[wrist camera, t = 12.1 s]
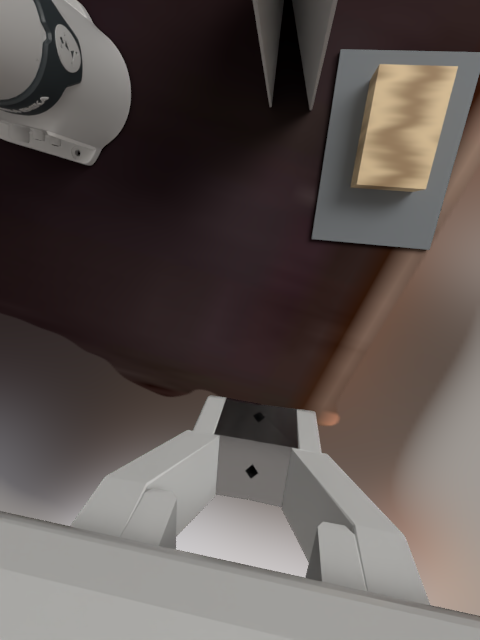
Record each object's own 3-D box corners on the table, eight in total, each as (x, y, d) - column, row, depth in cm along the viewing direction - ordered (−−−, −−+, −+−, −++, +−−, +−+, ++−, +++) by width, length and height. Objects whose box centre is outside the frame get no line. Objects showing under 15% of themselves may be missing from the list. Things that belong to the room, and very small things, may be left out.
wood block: (356, 184, 37) (379, 64, 33) (350, 187, 40) (370, 79, 37) (426, 189, 36) (458, 66, 32) (412, 191, 40) (440, 82, 36)
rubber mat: (311, 238, 44) (311, 238, 43) (340, 51, 37) (340, 49, 36) (427, 249, 42) (429, 249, 42) (481, 55, 35) (485, 52, 34)
